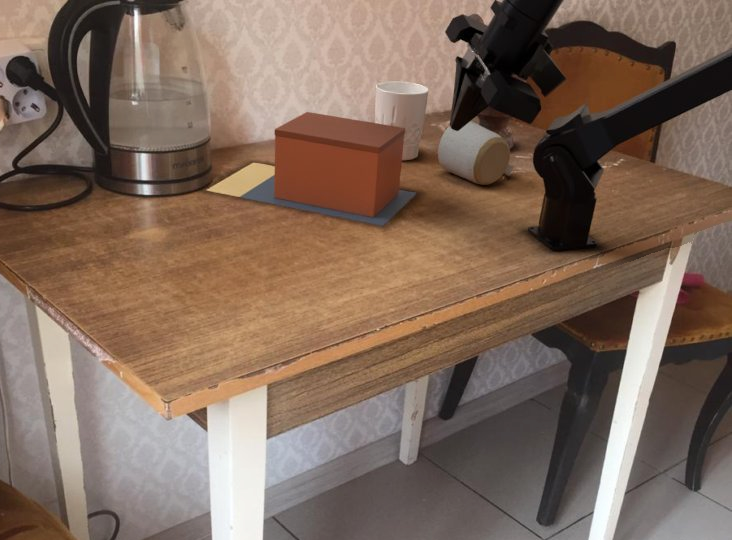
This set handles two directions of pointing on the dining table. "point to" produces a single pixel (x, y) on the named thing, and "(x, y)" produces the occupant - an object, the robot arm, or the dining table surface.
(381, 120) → the white cup
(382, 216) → the mat
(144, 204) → the dining table surface
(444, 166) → the ceramic mug
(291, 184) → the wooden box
